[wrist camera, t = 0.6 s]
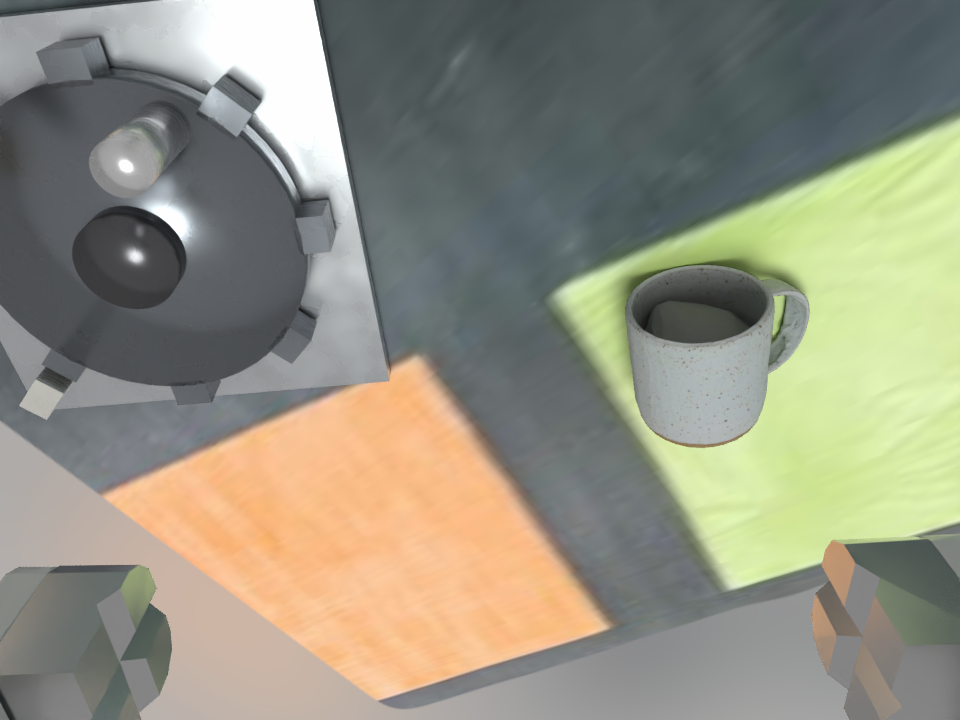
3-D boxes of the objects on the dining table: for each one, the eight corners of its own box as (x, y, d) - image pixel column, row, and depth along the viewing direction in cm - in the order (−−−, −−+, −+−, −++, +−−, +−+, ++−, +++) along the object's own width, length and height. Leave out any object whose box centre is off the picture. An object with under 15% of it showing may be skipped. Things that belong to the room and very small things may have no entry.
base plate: (-150, 30, 36) (-212, 50, 33) (313, -20, 35) (297, -4, 32) (45, 401, 48) (14, 442, 45) (390, 371, 47) (384, 411, 44)
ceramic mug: (627, 389, 49) (653, 472, 42) (612, 277, 44) (640, 352, 38) (797, 357, 48) (850, 438, 41) (800, 240, 43) (861, 310, 37)
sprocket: (-129, 61, 36) (-255, 109, 29) (288, 17, 35) (249, 57, 28) (46, 396, 47) (-18, 483, 40) (365, 369, 46) (349, 453, 40)
